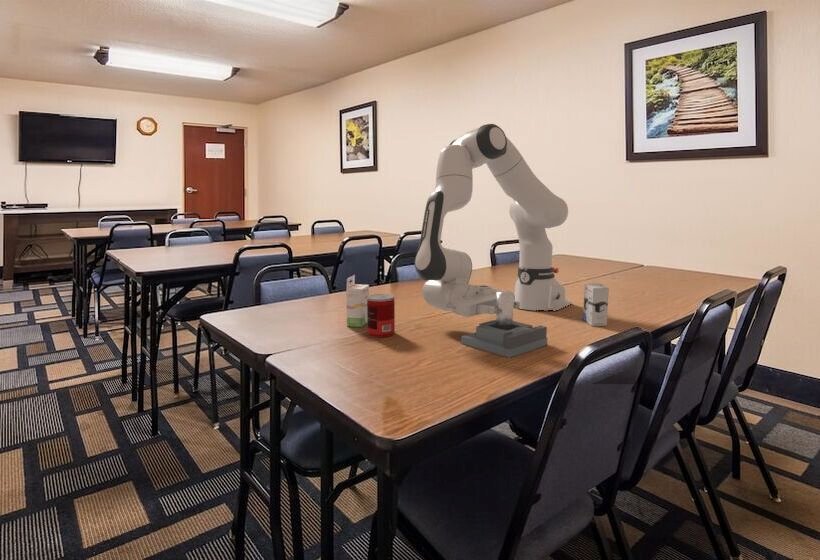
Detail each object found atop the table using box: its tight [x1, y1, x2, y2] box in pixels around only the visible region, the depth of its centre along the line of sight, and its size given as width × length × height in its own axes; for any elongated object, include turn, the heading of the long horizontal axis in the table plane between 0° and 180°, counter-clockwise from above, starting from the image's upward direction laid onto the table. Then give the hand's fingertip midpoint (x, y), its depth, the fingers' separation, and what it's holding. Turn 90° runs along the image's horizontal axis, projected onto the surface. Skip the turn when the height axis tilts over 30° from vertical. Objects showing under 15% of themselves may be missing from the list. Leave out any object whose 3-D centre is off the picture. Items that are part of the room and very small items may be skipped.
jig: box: [460, 319, 548, 358], centre depth 136 cm, size 16×16×5 cm
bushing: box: [495, 290, 515, 331], centre depth 135 cm, size 4×4×12 cm
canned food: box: [367, 293, 396, 338], centre depth 146 cm, size 8×8×11 cm
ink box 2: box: [582, 282, 610, 327], centre depth 157 cm, size 8×5×12 cm, turn 178°
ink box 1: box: [345, 274, 370, 328], centre depth 157 cm, size 9×5×15 cm, turn 168°
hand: (507, 308), depth 134 cm, fingers open, 8 cm apart
